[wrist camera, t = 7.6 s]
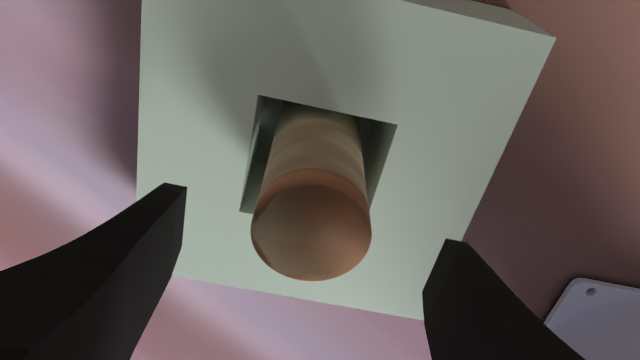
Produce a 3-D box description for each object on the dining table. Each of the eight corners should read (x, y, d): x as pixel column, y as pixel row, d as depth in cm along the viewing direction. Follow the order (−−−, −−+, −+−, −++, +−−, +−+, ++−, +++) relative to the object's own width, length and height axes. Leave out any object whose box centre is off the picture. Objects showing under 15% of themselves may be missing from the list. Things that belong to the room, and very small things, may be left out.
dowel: (370, 96, 19) (391, 206, 12) (341, 163, 21) (344, 293, 14) (294, 68, 19) (271, 166, 12) (269, 138, 20) (236, 261, 13)
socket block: (512, 10, 17) (556, 37, 14) (410, 258, 23) (423, 320, 20) (183, -70, 16) (143, -62, 13) (164, 211, 22) (134, 269, 19)
